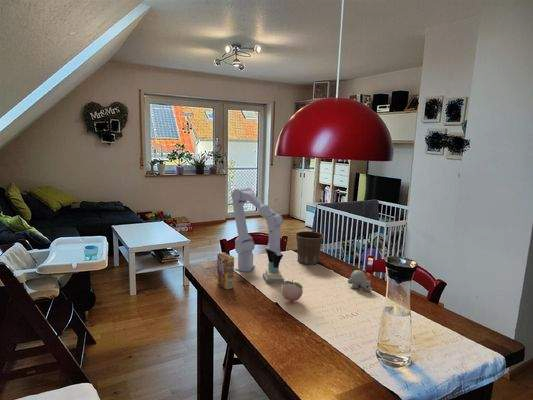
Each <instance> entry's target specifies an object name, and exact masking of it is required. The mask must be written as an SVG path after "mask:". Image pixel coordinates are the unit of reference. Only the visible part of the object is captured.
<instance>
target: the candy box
mask: <svg viewBox="0 0 533 400" xmlns="http://www.w3.org/2000/svg"><path fill="white" fill-rule="evenodd" d="M216 269H217V272H216V274H217V275H216V278H217V280H216V283H217V285H219V286H220V287H222V288H223V289H226V290H230V289H233V288H234V283H235V281H234V280H235V257H234V256H233V255H230V254H228V253H226V252H219V253H217V267H216Z"/></svg>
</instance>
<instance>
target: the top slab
mask: <svg viewBox="0 0 533 400" xmlns="http://www.w3.org/2000/svg"><path fill="white" fill-rule="evenodd" d="M265 273H266V277H267V279H281V275H282V272H281V270H280V269H279V272H275V273H271V272H270V271H269V270H268V268H266V269H265Z"/></svg>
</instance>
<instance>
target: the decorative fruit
mask: <svg viewBox="0 0 533 400" xmlns="http://www.w3.org/2000/svg"><path fill="white" fill-rule="evenodd" d="M281 287H282V288H281V294H282V296H283V298H284V299H285V300H287V301H288V302H289V301H290V302H291V303H292V302H296V301H298V300H299V299H300V298H301V297H302V295H303V291H304V290H303V289H304V287H303V285H302V284H301V283H300V282H296V281H295V282H294V280H293V279H292V281H291V280H284V282H283V283H282V286H281Z"/></svg>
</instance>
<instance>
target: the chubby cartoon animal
mask: <svg viewBox="0 0 533 400" xmlns="http://www.w3.org/2000/svg"><path fill="white" fill-rule="evenodd" d="M347 283H348V284H350V285H352V286H351V287H352V288H353V289H355V290H357V289H358V288H361V287H362V288H363V290H365V292H366V293H370V292H371V291H372V290H373V287H371V286H372V284H371V283H372V280H368V279H367V275H366V273H365V272H364V271H363V270H360V269H355V270H353V271H352V273H350V277H349V278H348V279H347Z"/></svg>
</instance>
